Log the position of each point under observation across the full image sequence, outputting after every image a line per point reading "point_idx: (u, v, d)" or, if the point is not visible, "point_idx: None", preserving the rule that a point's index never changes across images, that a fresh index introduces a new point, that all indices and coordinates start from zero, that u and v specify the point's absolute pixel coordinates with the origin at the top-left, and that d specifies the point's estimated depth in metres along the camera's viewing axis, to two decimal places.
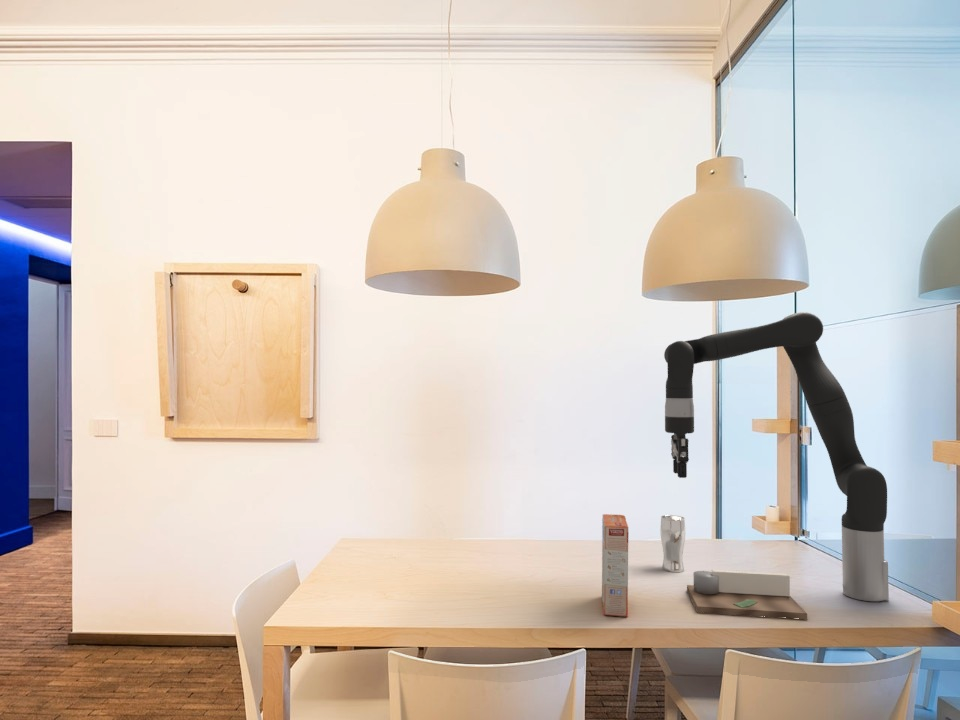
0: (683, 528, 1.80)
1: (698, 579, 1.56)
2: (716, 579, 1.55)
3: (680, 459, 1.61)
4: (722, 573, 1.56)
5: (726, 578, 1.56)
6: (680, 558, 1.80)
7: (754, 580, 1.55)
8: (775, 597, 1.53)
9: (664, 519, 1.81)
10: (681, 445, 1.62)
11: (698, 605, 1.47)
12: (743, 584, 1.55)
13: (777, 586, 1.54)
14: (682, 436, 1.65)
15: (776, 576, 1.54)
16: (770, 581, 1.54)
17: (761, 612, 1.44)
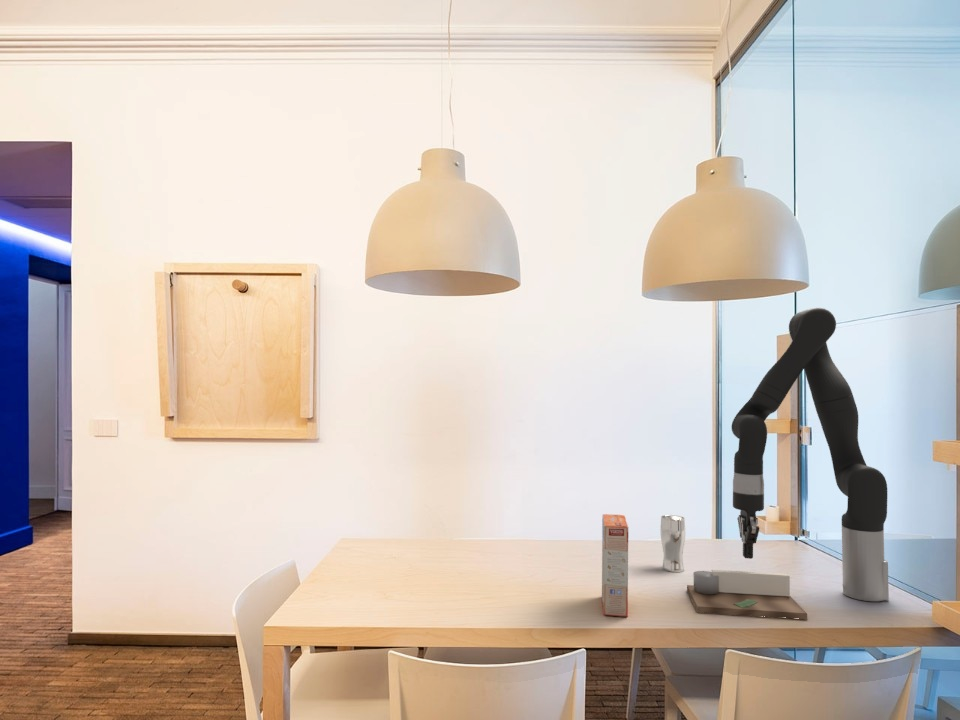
0: (683, 528, 1.80)
1: (698, 579, 1.56)
2: (716, 579, 1.55)
3: (747, 541, 1.60)
4: (722, 573, 1.56)
5: (726, 578, 1.56)
6: (680, 558, 1.80)
7: (754, 580, 1.55)
8: (775, 597, 1.53)
9: (664, 519, 1.81)
10: (751, 533, 1.58)
11: (698, 605, 1.47)
12: (743, 584, 1.55)
13: (777, 586, 1.54)
14: (752, 514, 1.59)
15: (776, 576, 1.54)
16: (770, 581, 1.54)
17: (761, 612, 1.44)
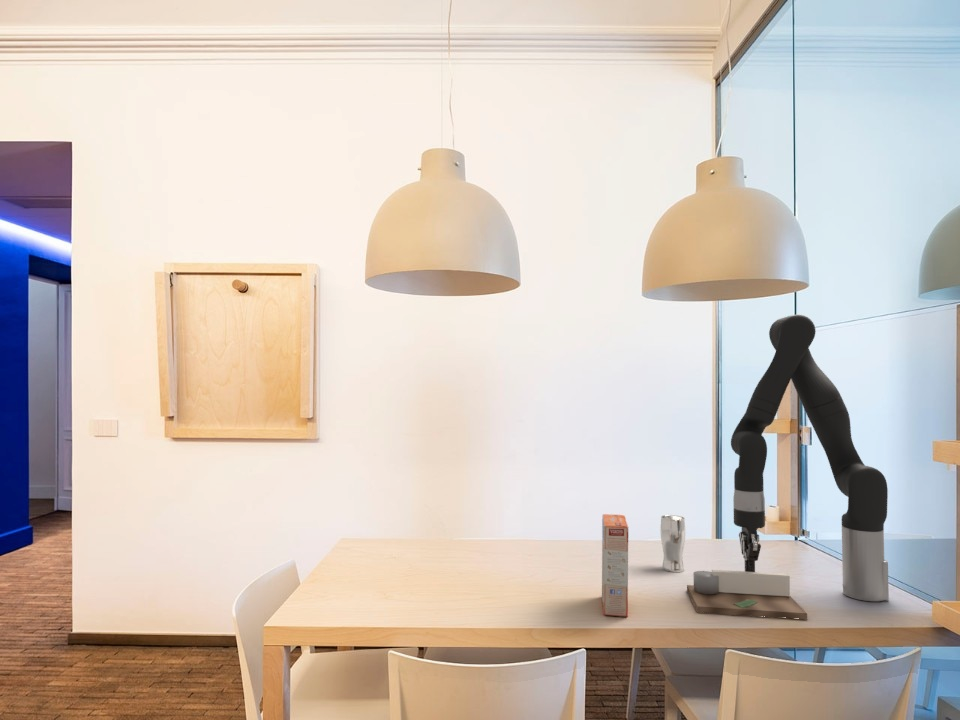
0: (683, 528, 1.80)
1: (698, 579, 1.56)
2: (716, 579, 1.55)
3: (749, 558, 1.59)
4: (722, 573, 1.56)
5: (726, 578, 1.56)
6: (680, 558, 1.80)
7: (754, 580, 1.55)
8: (775, 597, 1.53)
9: (664, 519, 1.81)
10: (752, 550, 1.57)
11: (698, 605, 1.47)
12: (743, 584, 1.55)
13: (777, 586, 1.54)
14: (754, 531, 1.58)
15: (776, 576, 1.54)
16: (770, 581, 1.54)
17: (761, 612, 1.44)
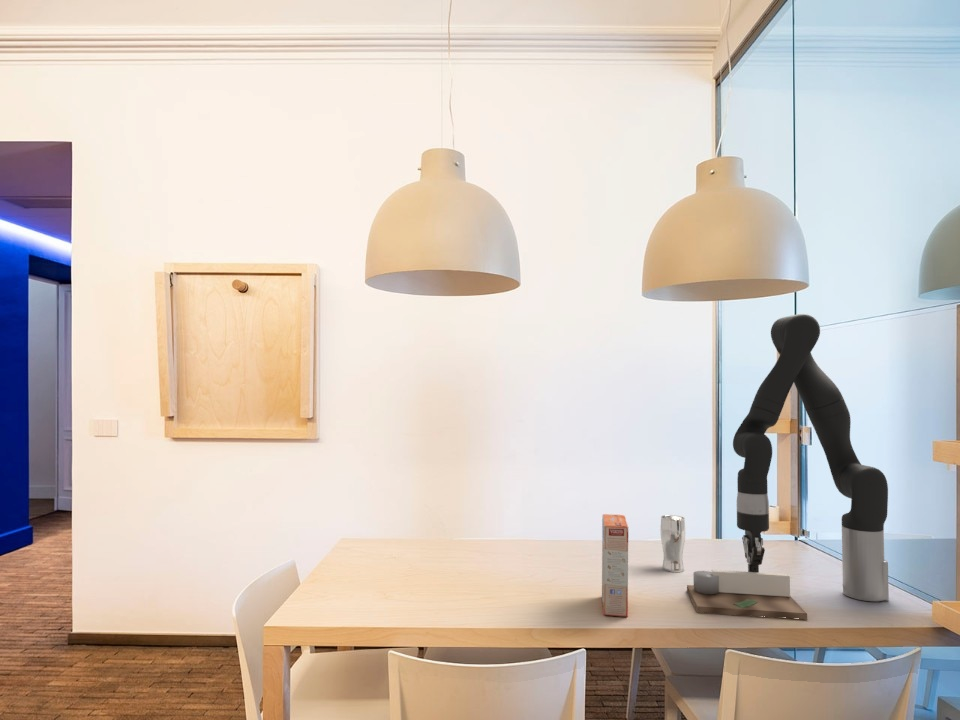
0: (683, 528, 1.80)
1: (698, 579, 1.56)
2: (716, 579, 1.55)
3: (753, 562, 1.55)
4: (722, 573, 1.56)
5: (726, 578, 1.56)
6: (680, 558, 1.80)
7: (754, 580, 1.54)
8: (775, 597, 1.53)
9: (664, 519, 1.81)
10: (756, 554, 1.53)
11: (698, 605, 1.47)
12: (743, 584, 1.55)
13: (777, 586, 1.53)
14: (757, 535, 1.55)
15: (776, 576, 1.54)
16: (770, 581, 1.54)
17: (761, 612, 1.44)
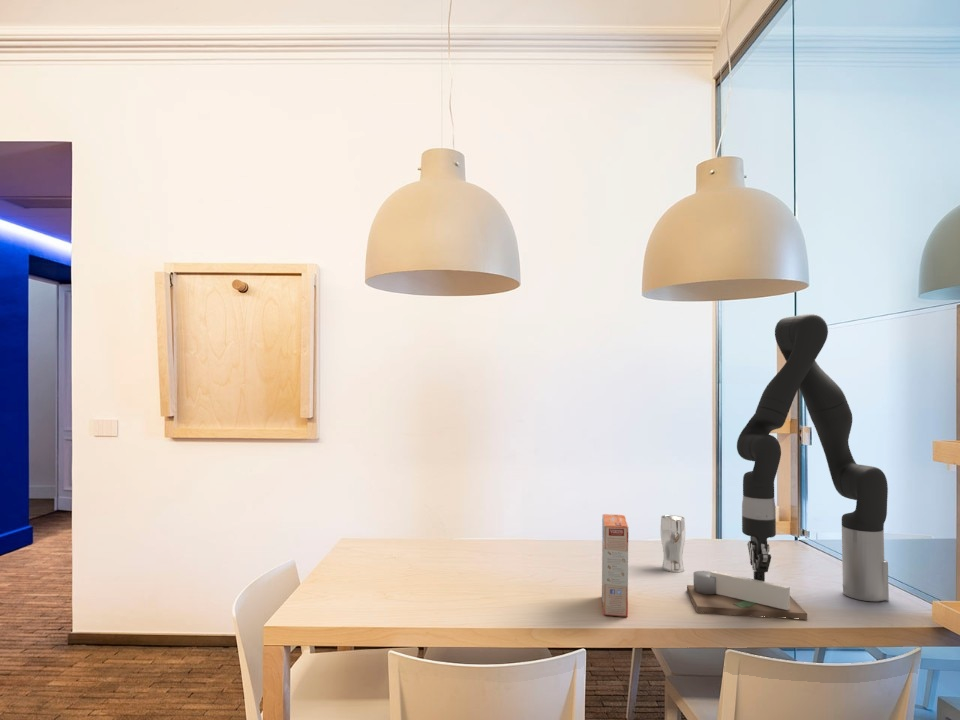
0: (683, 528, 1.80)
1: (694, 577, 1.57)
2: (711, 580, 1.54)
3: (759, 569, 1.49)
4: (719, 575, 1.54)
5: (723, 581, 1.54)
6: (680, 558, 1.80)
7: (751, 587, 1.49)
8: None
9: (664, 519, 1.81)
10: (762, 561, 1.47)
11: (698, 605, 1.47)
12: (740, 589, 1.51)
13: (774, 597, 1.45)
14: (763, 541, 1.48)
15: (773, 586, 1.46)
16: (767, 590, 1.47)
17: (761, 612, 1.44)
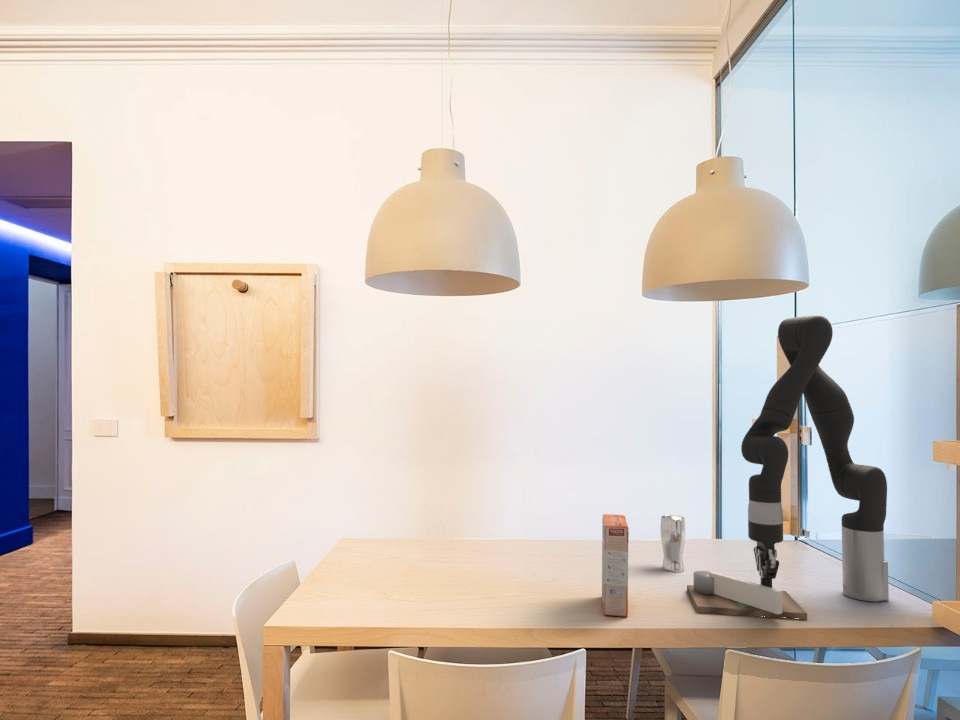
0: (683, 528, 1.80)
1: None
2: (708, 580, 1.54)
3: (766, 576, 1.44)
4: (717, 576, 1.54)
5: (720, 581, 1.53)
6: (680, 558, 1.80)
7: (745, 589, 1.48)
8: None
9: (664, 519, 1.81)
10: (770, 568, 1.42)
11: (698, 605, 1.47)
12: (735, 591, 1.50)
13: (766, 601, 1.43)
14: (771, 547, 1.44)
15: (765, 590, 1.43)
16: (760, 593, 1.44)
17: (761, 612, 1.44)
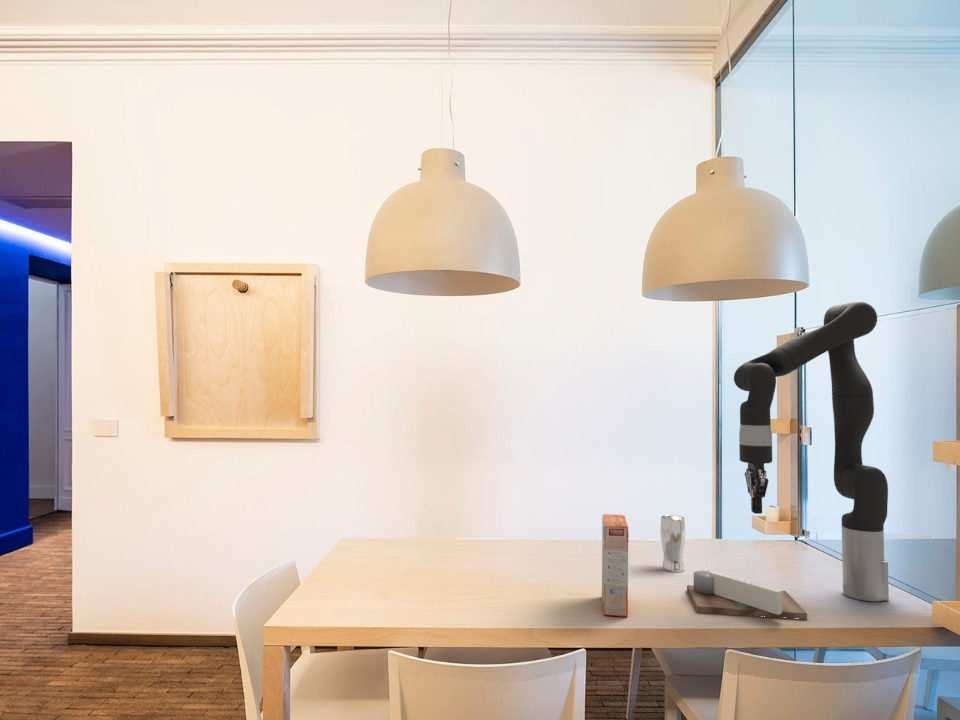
0: (683, 528, 1.80)
1: None
2: (708, 580, 1.54)
3: (756, 494, 1.52)
4: (717, 576, 1.54)
5: (720, 581, 1.53)
6: (680, 558, 1.80)
7: (745, 589, 1.47)
8: None
9: (664, 519, 1.81)
10: (759, 485, 1.50)
11: (698, 605, 1.47)
12: (735, 591, 1.50)
13: (766, 601, 1.43)
14: (761, 466, 1.52)
15: (765, 590, 1.43)
16: (759, 593, 1.44)
17: (761, 612, 1.44)
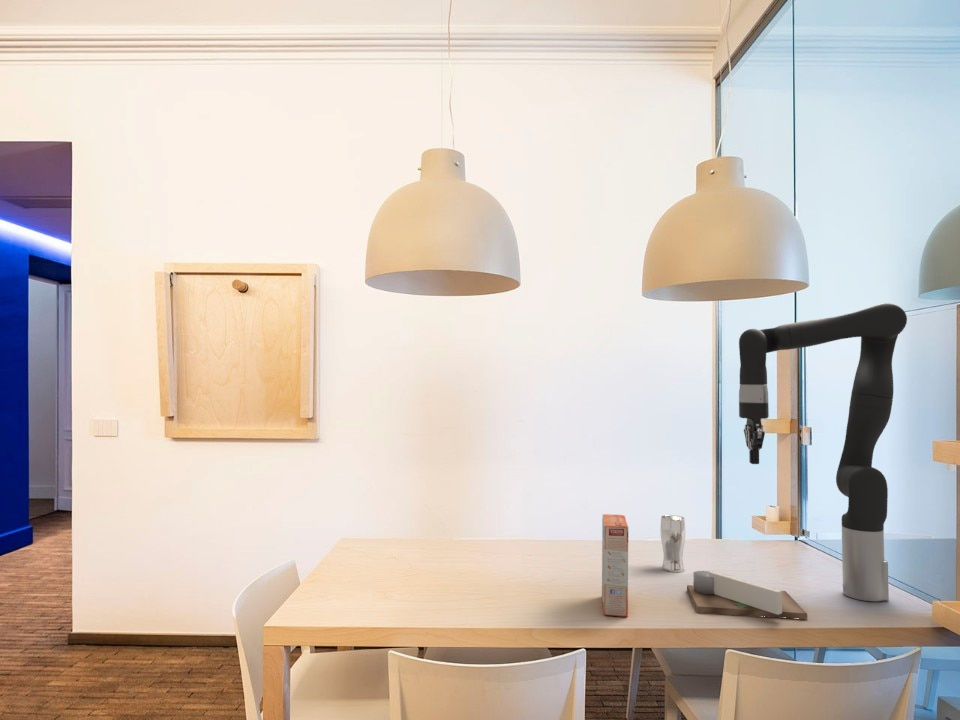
0: (683, 528, 1.80)
1: None
2: (708, 580, 1.54)
3: (754, 446, 1.70)
4: (717, 576, 1.54)
5: (720, 581, 1.53)
6: (680, 558, 1.80)
7: (745, 589, 1.47)
8: None
9: (664, 519, 1.81)
10: (757, 438, 1.68)
11: (698, 605, 1.47)
12: (735, 591, 1.50)
13: (766, 601, 1.43)
14: (758, 421, 1.69)
15: (765, 590, 1.43)
16: (759, 593, 1.44)
17: (761, 612, 1.44)
